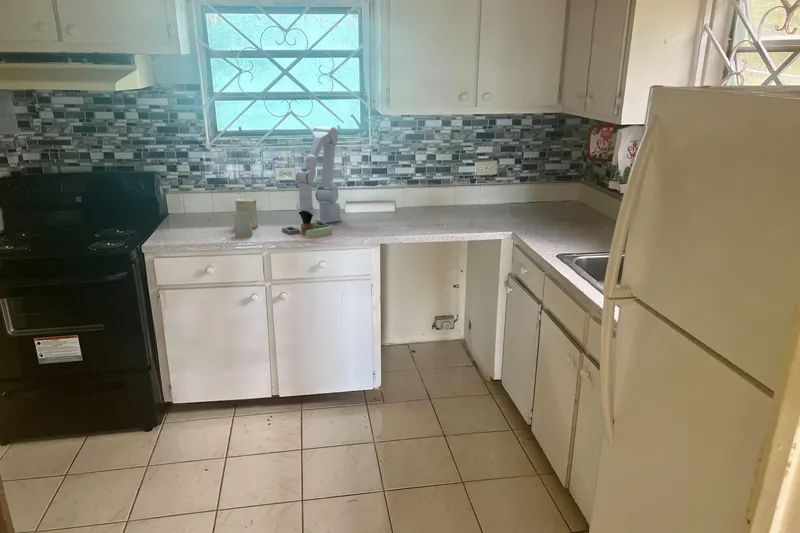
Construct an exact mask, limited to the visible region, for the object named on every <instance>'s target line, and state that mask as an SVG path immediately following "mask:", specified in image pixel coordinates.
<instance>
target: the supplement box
mask: <svg viewBox="0 0 800 533" xmlns="http://www.w3.org/2000/svg"><path fill="white" fill-rule="evenodd" d="M234 203H235V210H236V211H235V212H236V213H235V214H251V220H252V230H255V229H257V228H258V227H259V222H258V221H259V220H258V208H257V207H258V206H257V198H255V199H254V198H242V197H240V198H237V199H236V200H235V202H234Z"/></svg>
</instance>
